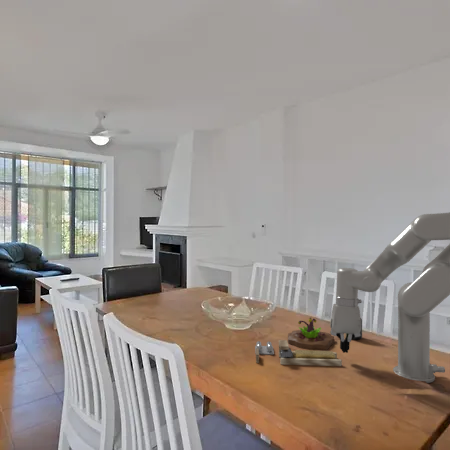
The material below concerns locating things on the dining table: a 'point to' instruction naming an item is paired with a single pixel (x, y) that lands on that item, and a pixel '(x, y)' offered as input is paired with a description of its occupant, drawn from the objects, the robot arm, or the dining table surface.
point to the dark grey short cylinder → (286, 353)
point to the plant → (310, 337)
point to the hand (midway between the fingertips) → (344, 351)
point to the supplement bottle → (360, 333)
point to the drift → (314, 354)
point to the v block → (264, 348)
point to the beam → (302, 361)
